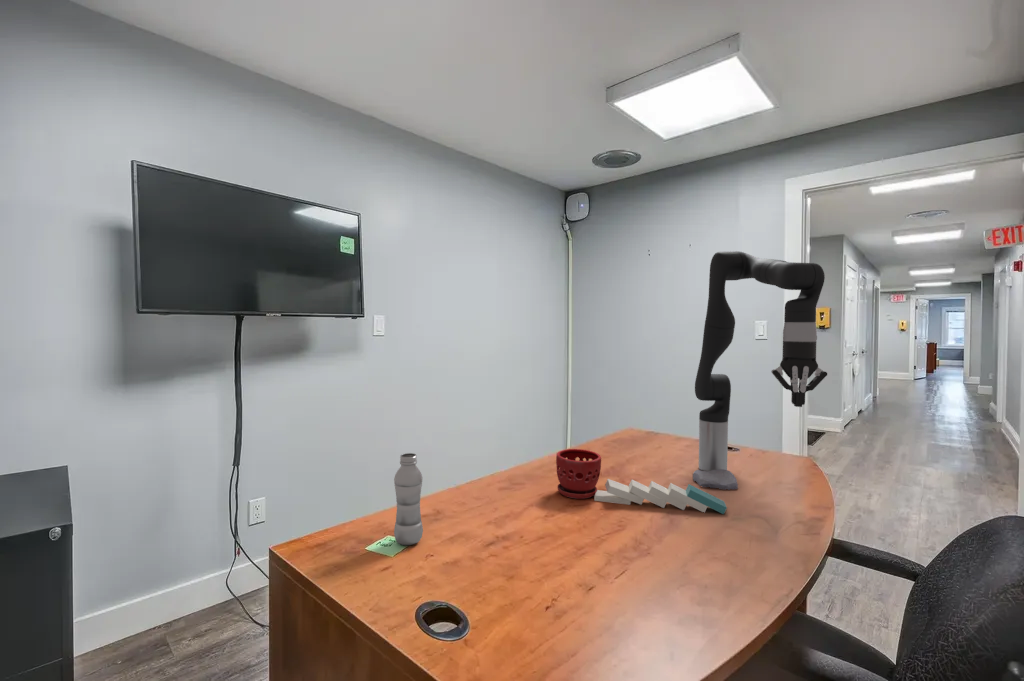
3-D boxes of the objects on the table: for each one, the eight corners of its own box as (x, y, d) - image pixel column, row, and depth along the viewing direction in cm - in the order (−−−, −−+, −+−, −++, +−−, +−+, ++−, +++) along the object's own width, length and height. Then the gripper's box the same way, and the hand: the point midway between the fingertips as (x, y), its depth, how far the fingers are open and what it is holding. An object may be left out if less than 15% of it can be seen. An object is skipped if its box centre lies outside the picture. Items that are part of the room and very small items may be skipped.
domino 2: (641, 504, 134) (607, 492, 134) (638, 496, 139) (605, 484, 139) (644, 498, 134) (609, 485, 134) (640, 490, 139) (607, 478, 139)
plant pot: (549, 497, 140) (549, 456, 140) (564, 484, 152) (564, 446, 152) (593, 505, 135) (594, 462, 134) (605, 490, 147) (606, 451, 146)
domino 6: (723, 514, 128) (687, 496, 131) (720, 507, 133) (685, 490, 135) (727, 507, 128) (690, 489, 130) (724, 501, 133) (688, 483, 135)
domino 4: (683, 510, 131) (648, 492, 133) (682, 503, 136) (648, 486, 138) (687, 504, 131) (651, 486, 133) (685, 497, 136) (651, 480, 138)
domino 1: (630, 506, 135) (594, 502, 138) (631, 500, 140) (596, 496, 143) (630, 499, 135) (594, 495, 138) (631, 493, 140) (597, 489, 143)
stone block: (740, 496, 148) (728, 479, 158) (741, 481, 147) (729, 466, 157) (700, 496, 149) (691, 480, 159) (701, 482, 148) (691, 466, 158)
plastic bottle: (398, 551, 106) (398, 460, 106) (390, 539, 112) (390, 453, 112) (426, 545, 109) (426, 457, 109) (418, 533, 115) (418, 450, 115)
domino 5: (704, 512, 130) (668, 495, 132) (702, 506, 134) (667, 489, 137) (707, 506, 129) (671, 488, 132) (705, 499, 134) (670, 482, 136)
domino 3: (663, 508, 133) (629, 491, 134) (662, 501, 137) (628, 485, 139) (667, 501, 132) (632, 485, 134) (665, 495, 137) (631, 479, 139)
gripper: (824, 339, 127) (823, 405, 128) (768, 339, 132) (767, 402, 132) (833, 340, 120) (831, 410, 121) (773, 339, 125) (772, 407, 125)
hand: (797, 406), depth 127 cm, fingers closed
